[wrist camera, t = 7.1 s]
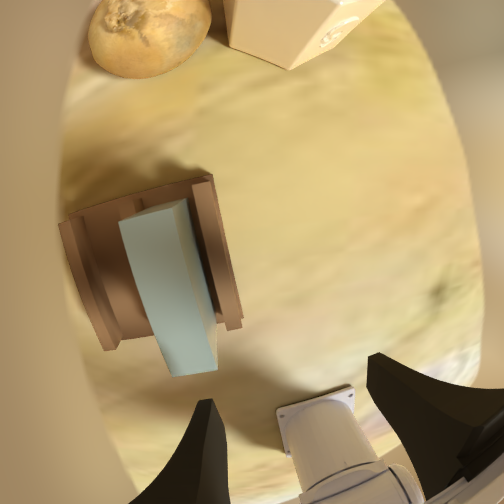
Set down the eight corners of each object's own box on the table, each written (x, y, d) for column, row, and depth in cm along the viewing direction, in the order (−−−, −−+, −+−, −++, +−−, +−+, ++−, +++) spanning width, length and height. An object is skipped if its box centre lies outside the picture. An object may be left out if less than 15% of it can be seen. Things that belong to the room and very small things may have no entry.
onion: (102, 23, 13) (68, -22, 7) (201, -7, 14) (199, -64, 7) (111, 104, 16) (65, 73, 9) (221, 71, 16) (226, 19, 9)
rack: (242, 311, 21) (246, 332, 18) (115, 335, 20) (104, 355, 17) (212, 174, 18) (211, 173, 15) (74, 212, 17) (54, 218, 14)
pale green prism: (216, 312, 19) (218, 369, 13) (183, 318, 19) (172, 377, 13) (188, 197, 17) (172, 207, 11) (151, 206, 17) (118, 221, 11)
